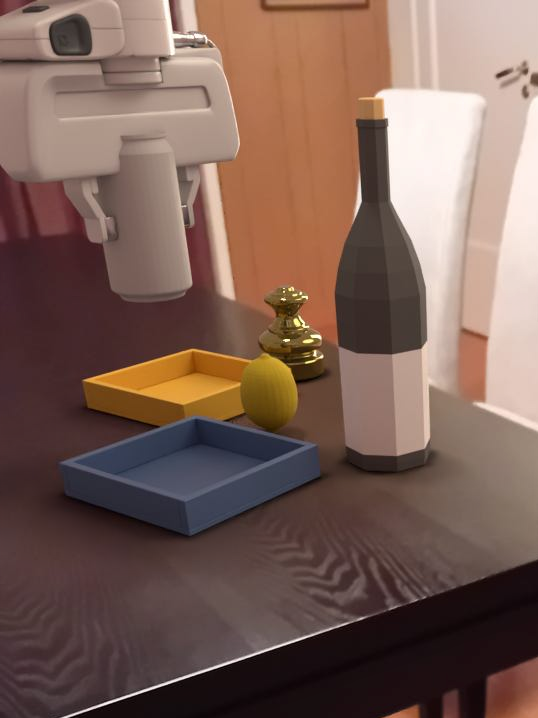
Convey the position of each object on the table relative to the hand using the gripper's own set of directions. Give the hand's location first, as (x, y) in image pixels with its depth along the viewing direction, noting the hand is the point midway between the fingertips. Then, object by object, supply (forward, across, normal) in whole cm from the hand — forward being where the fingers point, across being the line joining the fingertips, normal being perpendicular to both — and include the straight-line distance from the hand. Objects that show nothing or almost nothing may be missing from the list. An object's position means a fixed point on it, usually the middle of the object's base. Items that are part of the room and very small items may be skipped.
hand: (143, 234), depth 80 cm
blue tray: (+21, 0, +1) cm, 21 cm away
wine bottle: (+21, -15, +11) cm, 28 cm away
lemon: (+21, -14, -3) cm, 25 cm away
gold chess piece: (+21, -31, -16) cm, 41 cm away
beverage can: (+5, 0, 0) cm, 5 cm away
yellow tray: (+21, -17, -18) cm, 32 cm away
